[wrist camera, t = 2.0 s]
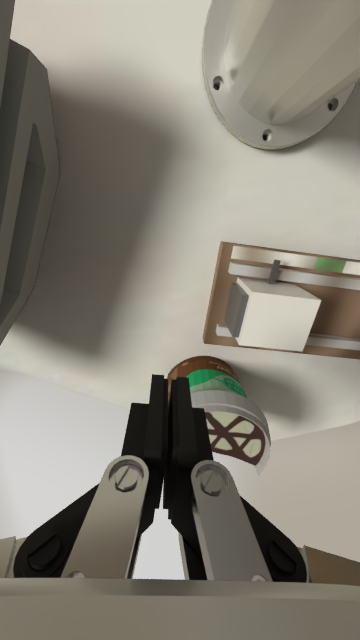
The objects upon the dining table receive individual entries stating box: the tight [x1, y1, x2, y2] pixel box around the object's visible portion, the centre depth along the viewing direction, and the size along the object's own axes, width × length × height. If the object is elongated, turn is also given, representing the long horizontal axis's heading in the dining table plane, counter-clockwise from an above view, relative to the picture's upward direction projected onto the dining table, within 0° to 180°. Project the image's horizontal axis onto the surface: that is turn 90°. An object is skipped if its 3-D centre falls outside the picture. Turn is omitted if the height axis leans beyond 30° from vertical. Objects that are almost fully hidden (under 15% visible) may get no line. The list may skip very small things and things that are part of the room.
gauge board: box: [203, 242, 360, 359], centre depth 26 cm, size 24×11×6 cm, turn 83°
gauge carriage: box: [224, 259, 321, 352], centre depth 24 cm, size 7×7×5 cm
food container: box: [168, 356, 271, 475], centre depth 27 cm, size 12×6×10 cm, turn 60°
